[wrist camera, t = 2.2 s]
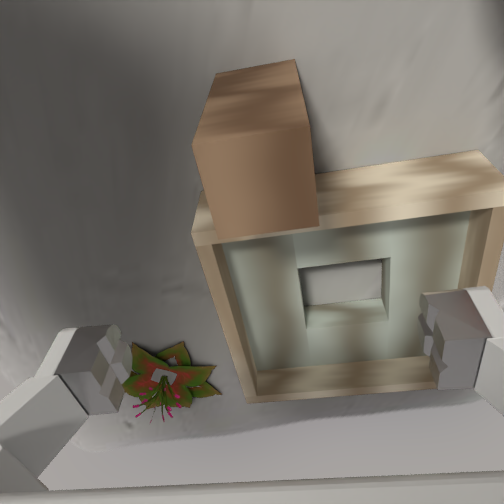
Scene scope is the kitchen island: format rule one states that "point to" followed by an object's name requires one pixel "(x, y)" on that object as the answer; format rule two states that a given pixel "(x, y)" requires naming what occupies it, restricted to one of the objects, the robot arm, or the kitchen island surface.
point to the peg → (257, 152)
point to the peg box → (350, 250)
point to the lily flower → (167, 393)
